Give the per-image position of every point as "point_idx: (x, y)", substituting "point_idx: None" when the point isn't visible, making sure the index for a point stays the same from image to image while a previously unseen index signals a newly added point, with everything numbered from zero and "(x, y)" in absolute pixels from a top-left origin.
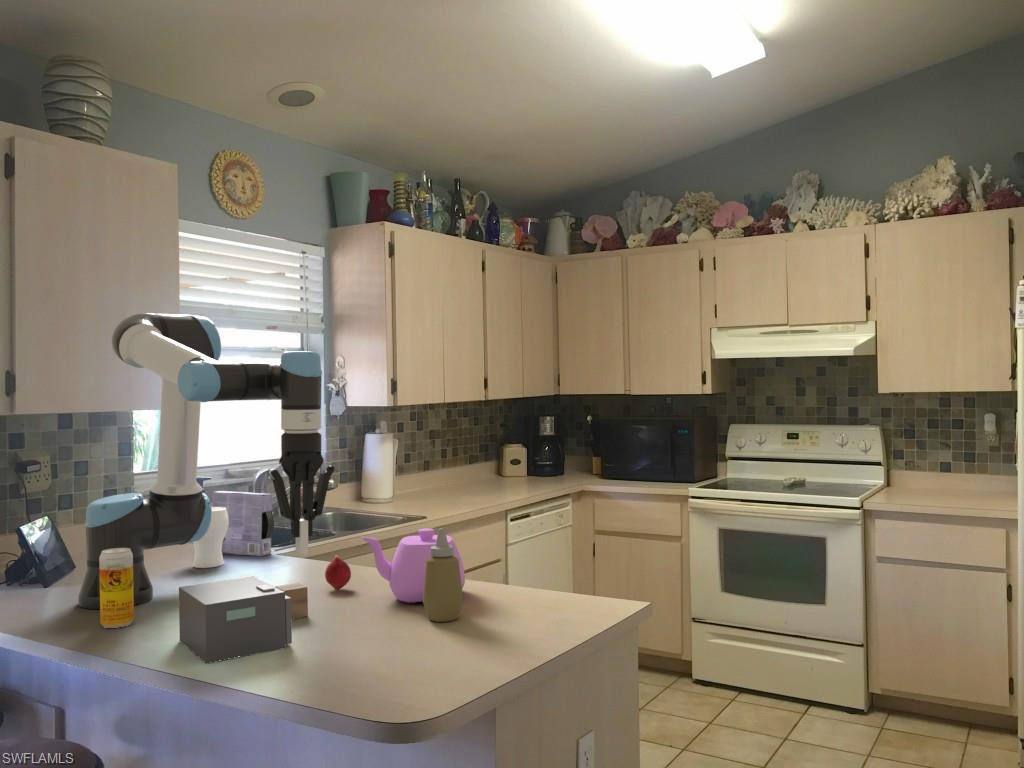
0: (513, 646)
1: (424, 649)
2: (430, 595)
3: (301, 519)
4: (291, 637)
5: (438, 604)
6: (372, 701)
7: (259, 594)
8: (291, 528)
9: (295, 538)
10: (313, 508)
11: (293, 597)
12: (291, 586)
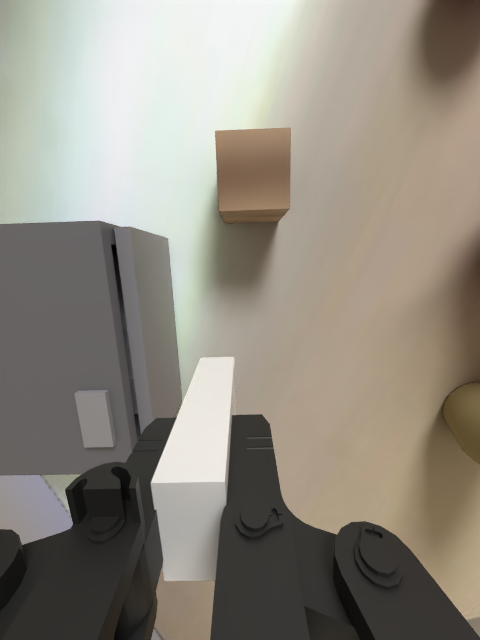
0: (440, 573)
1: (339, 521)
2: (477, 453)
3: (198, 515)
4: (179, 405)
5: (469, 455)
6: (196, 623)
7: (73, 459)
8: (131, 462)
9: (188, 389)
10: (366, 632)
11: (246, 214)
12: (255, 169)
